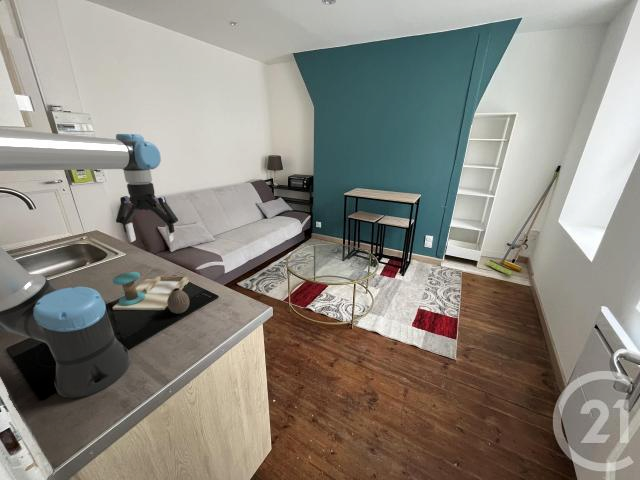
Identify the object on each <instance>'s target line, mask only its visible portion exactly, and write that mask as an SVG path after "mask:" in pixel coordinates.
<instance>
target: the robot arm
mask: <svg viewBox="0 0 640 480" xmlns="http://www.w3.org/2000/svg"><path fill="white" fill-rule="evenodd" d="M161 160H162V159H161V152H160V150H159V149H158V147H157V146H156V145H155V144H154V143H152V142H149V141H145V139H144V137H143V135H141V134H136V133H135V134H134V133H133V134H131V133H116V134H115V138H105V137H96V136H85V135H84V136H83V135H76V134H75V135H74V134H64V133H63V134H62V133H52V132H42V131H34V130H33V131H31V130H20V129H19V130H18V129H11V128H10V129H8V128H0V172H6V171H7V172H11V171H12V172H15V171H17V172H18V171H19V172H20V171H21V172H22V171H24V172H25V171H76V170H77V171H81V170H82V171H85V170H91V171H92V170H123V171H122V172H123V174H124V178H125V179H124V180H125V182H126V183H127V184H126V188H127V192H128V195H129V196H128V195H124V196H121V197H120V205H119V208H118V211H117V216H116V219H115V222H116V223H118V224H121V225H123V229H124V232H125V234H126V235H127V238H128V242H129V243H132V242H133V243H134V241H136V240H137V239H136V234H135V230H134V226H133V225H134V224H133V222H131V220H132V219H133V217H134V216H135V215H136V213H137V212H138V210H139V211H143V210H145V211H149V210H150V211H151V212H153V213H154V214H155V215H157V217H158V218H160V219H161V221H163V222H164V223H165V225H164V228H165V232H166V233H165V234H166V237H167V242H168V243H172V242H174V240H175V239H174V233H175V227H174V224H175V223H177V222H179V219H178V217H177V216H176V214H175V213H174V211H173V210H172V208H171V207H170V206H169V204H168V203H167V200H166V197H165V196H158V197H156V195H155V193H156V192H155V188H154V183H153V177H152V172H151V170H155V169H156V168H158V167H159V165H160V163H161ZM130 203H131V204H132V206H131V207H130V208H129V204H130ZM158 204H159V205H158ZM128 208H129V211H128V213H127V210H128ZM0 330H2V331H3V332H7V333H10V334H15V335H19V336H22V337H26V338H30V339H33V340H36V341H40V342H42V343H45V344H46V345H47V346H48V348H49V350H50V353H51V355H52V356H53V359H54V361H55V377H54V383H53V384H54V387H55V389H56V392H57V393H58V395H59V396H61V397H62V396H63V398H66V399H78V398H79V399H80V398H83V397H87V396H91V395H93V394H96V393H98V392H100V391H102V390H104V389H107V387H109V386H111V385H113V384H114V383H115V382H116V381H118V380H119V379H120V378H121V377H122V376H123V375H124V374H125V373H126V372H127V370H128V368H129V367H130V365H131V361H132V360H131V356H130V351H129V349H128V348H127V347H126V346H124V345H123V343H121V342H120V341H119V340H118V339H117V338H116V336H115V335H116V334H115V333H114V329H113V326H112V323H111V320H110V317H109V315H108V311H107V306H106V303H105V301H104V299H103V298H102V296H101V293H99V291H97V290H96V289H94V288H92V287H87V286H76V287H72V286H71V287H66V288H60V289H58V288H56V286H54V285H53V284H52V283H51V282H50V281H49V280H48V279H47V277H45V276H44V275H42V274H39V273H30V272H29V271H27V270H26V269H25V268H24V267H23V266H22V265H21V264H20V263H19V262H18V261H16V259H15V258H14V257H12V256H11V255H10V254H9V253H8V252H7V251H6V249H4V248H3V247H1V246H0Z"/></svg>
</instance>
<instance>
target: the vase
mask: <svg viewBox="0 0 640 480" xmlns="http://www.w3.org/2000/svg"><path fill="white" fill-rule="evenodd" d="M167 305H168V306H167V308H168V309H169V311H170V312H171V313H173V314H176V315H177V314H178V315H179V314H183V313H184V312H186V311H187V310H188V308H189V307H190V298H189V296H188V294H187V293H186V292H185V291H183V289H182V290H180V288H174V289H173V290H172V292H171V294H170V295H169V297H168V300H167Z"/></svg>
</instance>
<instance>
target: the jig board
mask: <svg viewBox="0 0 640 480" xmlns="http://www.w3.org/2000/svg"><path fill="white" fill-rule="evenodd" d="M140 277H141V275H140V273H139V272H137V271H130V272H124V273H121V274H118V275H116V276H114V278H113V279H112V282H113V284H114V285H119V286H121V285H122V290H123V292H124V295H123V296H122V297H121V298H120V299H119V301H118V302H117V303H116V304H114V305H113V306H112V310H114V311H115V310H117V311H122V310H123V311H125V310H127V311H164V310H165V309H166V308H168V305H167V300H168V297H169V295H170V294H171V292H172V290H173V289H174V288H180V290H182V291H183V289H184V288H185V287H186V286H187V284H188V283H189V276H188V275H168V274H167V275H164V274H162V275H158V276H156V278H153V279H151V278H149V279H147V278H146V279H144V280H143V281H142V282H141V283H139V285H137V286H136V284H135V282H136V281H138V280H139V279H140ZM185 285H186V286H185ZM184 286H185V287H184Z"/></svg>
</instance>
